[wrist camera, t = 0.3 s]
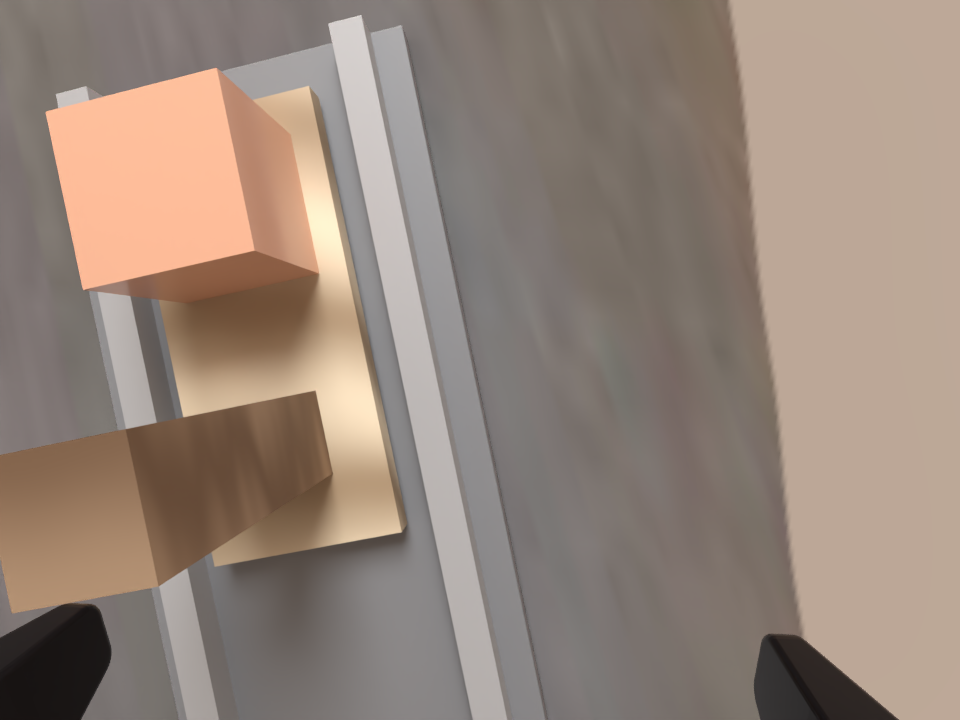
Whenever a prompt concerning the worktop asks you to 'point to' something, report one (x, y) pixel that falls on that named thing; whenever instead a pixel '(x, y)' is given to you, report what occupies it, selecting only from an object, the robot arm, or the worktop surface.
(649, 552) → the worktop surface
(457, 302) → the guide board
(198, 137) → the terracotta cube
